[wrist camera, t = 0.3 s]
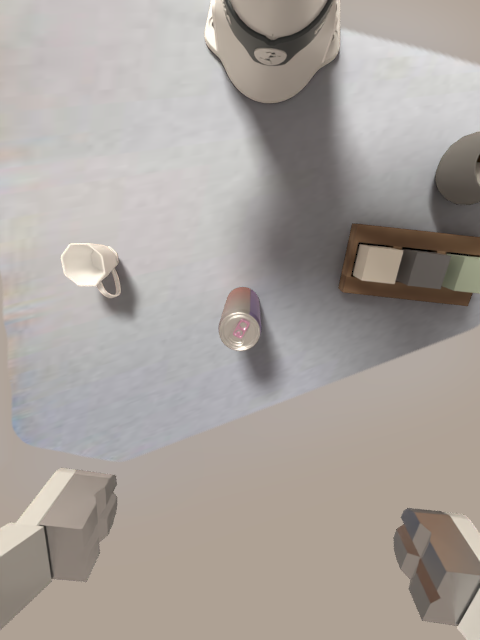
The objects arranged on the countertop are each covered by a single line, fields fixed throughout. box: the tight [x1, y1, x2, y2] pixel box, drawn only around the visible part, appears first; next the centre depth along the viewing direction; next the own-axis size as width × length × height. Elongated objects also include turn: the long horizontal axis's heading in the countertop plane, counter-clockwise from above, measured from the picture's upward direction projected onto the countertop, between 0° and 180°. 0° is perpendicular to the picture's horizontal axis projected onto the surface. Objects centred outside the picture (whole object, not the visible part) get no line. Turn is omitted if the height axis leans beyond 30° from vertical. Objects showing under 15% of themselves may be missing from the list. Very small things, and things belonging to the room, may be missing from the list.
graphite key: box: [396, 249, 451, 289], centre depth 47 cm, size 5×5×4 cm
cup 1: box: [61, 243, 121, 298], centre depth 50 cm, size 7×10×8 cm
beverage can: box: [219, 287, 261, 351], centre depth 48 cm, size 6×6×15 cm
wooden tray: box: [338, 223, 480, 306], centre depth 51 cm, size 11×21×3 cm, turn 84°
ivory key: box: [353, 244, 403, 284], centre depth 47 cm, size 5×5×4 cm
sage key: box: [442, 254, 480, 293], centre depth 47 cm, size 5×5×4 cm
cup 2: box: [435, 132, 480, 205], centre depth 43 cm, size 10×9×10 cm
